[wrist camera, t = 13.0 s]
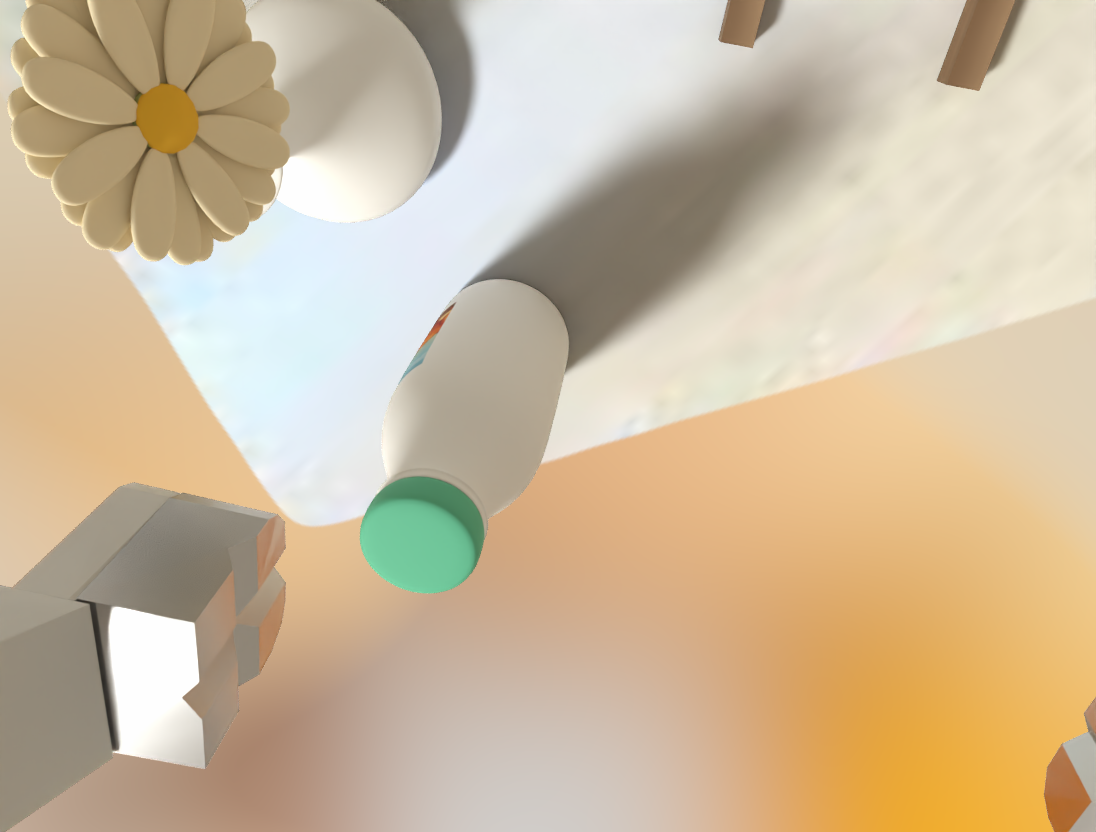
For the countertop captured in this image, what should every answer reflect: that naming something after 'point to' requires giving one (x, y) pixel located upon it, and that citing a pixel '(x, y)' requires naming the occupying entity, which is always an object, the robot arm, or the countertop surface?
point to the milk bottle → (464, 433)
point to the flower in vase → (220, 115)
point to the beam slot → (964, 56)
